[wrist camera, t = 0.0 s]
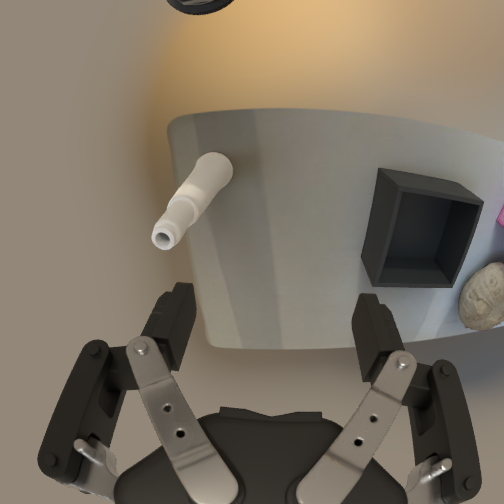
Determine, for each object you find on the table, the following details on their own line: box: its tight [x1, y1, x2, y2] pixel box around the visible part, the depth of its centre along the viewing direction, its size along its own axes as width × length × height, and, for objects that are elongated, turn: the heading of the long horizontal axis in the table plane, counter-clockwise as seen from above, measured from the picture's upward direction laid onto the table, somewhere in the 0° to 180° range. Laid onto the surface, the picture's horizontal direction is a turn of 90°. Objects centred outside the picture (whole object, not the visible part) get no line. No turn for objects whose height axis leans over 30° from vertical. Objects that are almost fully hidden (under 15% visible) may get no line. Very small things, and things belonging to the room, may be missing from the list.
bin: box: [361, 168, 484, 288], centre depth 40 cm, size 17×17×9 cm
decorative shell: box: [458, 262, 504, 331], centre depth 45 cm, size 18×18×10 cm
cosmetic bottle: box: [152, 152, 233, 250], centre depth 33 cm, size 6×6×22 cm
